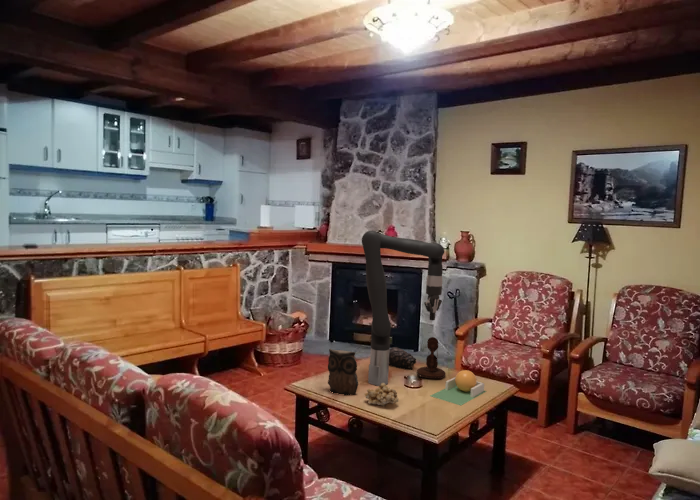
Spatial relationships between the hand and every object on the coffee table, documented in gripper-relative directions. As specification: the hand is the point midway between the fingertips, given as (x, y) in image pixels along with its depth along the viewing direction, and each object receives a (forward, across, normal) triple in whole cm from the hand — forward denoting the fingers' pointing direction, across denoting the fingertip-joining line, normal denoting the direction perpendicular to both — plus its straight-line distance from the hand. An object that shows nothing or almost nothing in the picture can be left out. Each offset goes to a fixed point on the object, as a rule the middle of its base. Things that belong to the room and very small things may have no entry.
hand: (432, 320), depth 250 cm
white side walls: (+32, -7, +16) cm, 37 cm away
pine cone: (+33, -17, -27) cm, 46 cm away
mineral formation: (+33, +35, -2) cm, 48 cm away
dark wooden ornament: (+33, -14, -7) cm, 37 cm away
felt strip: (+33, -1, +16) cm, 37 cm away
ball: (+28, -7, +16) cm, 33 cm away
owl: (+33, +35, -24) cm, 54 cm away
